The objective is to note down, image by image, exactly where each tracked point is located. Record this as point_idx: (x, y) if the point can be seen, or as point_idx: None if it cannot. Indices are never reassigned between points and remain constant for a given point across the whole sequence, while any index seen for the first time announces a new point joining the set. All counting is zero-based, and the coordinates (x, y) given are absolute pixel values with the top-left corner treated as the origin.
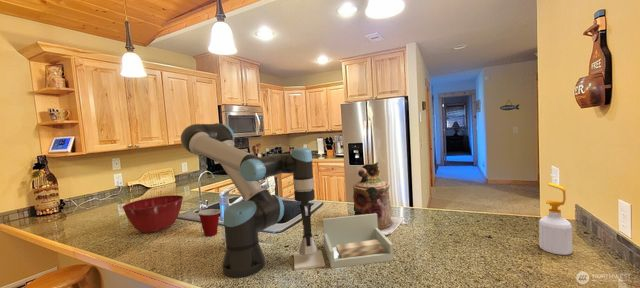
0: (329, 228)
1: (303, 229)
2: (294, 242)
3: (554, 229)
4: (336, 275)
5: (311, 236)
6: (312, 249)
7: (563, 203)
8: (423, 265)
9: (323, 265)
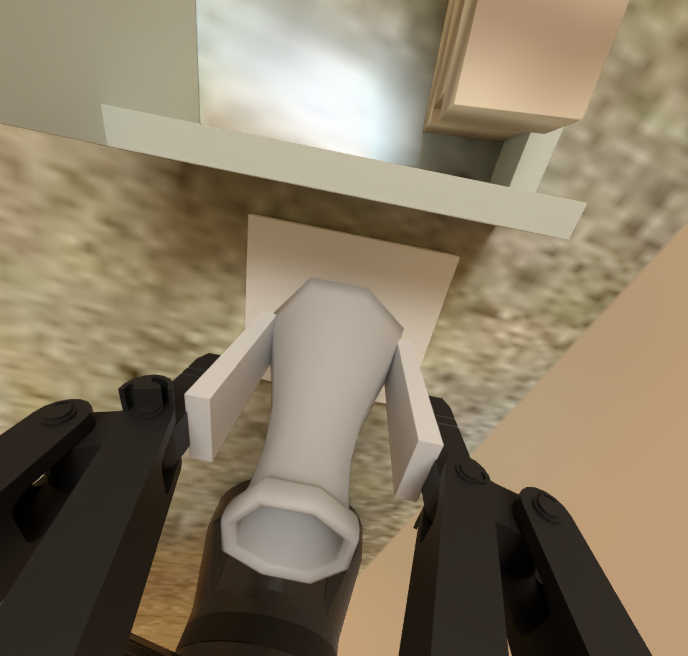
0: (18, 11)
1: (190, 452)
2: (89, 331)
3: None
4: (593, 225)
5: (561, 508)
6: (393, 346)
7: None
8: None
9: (453, 266)
